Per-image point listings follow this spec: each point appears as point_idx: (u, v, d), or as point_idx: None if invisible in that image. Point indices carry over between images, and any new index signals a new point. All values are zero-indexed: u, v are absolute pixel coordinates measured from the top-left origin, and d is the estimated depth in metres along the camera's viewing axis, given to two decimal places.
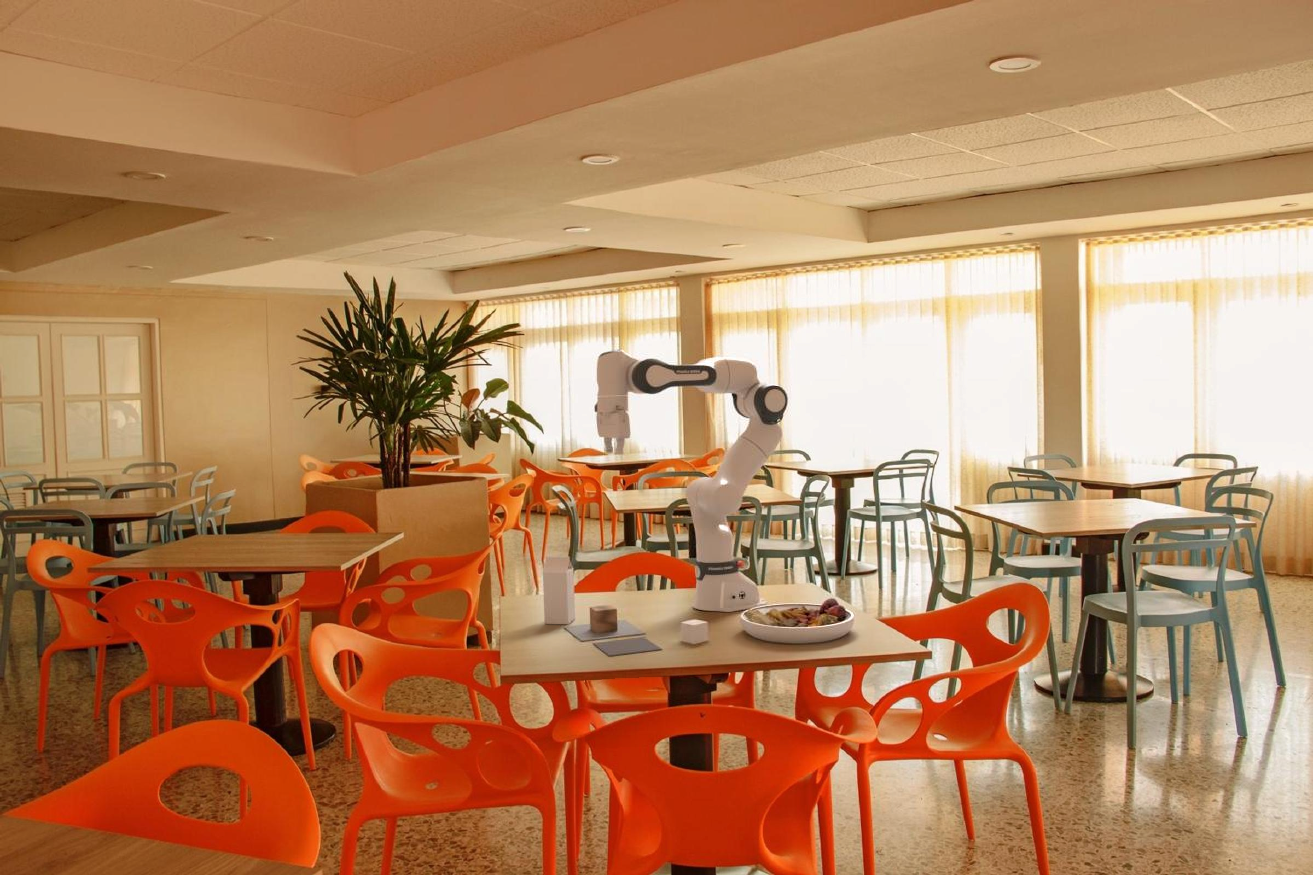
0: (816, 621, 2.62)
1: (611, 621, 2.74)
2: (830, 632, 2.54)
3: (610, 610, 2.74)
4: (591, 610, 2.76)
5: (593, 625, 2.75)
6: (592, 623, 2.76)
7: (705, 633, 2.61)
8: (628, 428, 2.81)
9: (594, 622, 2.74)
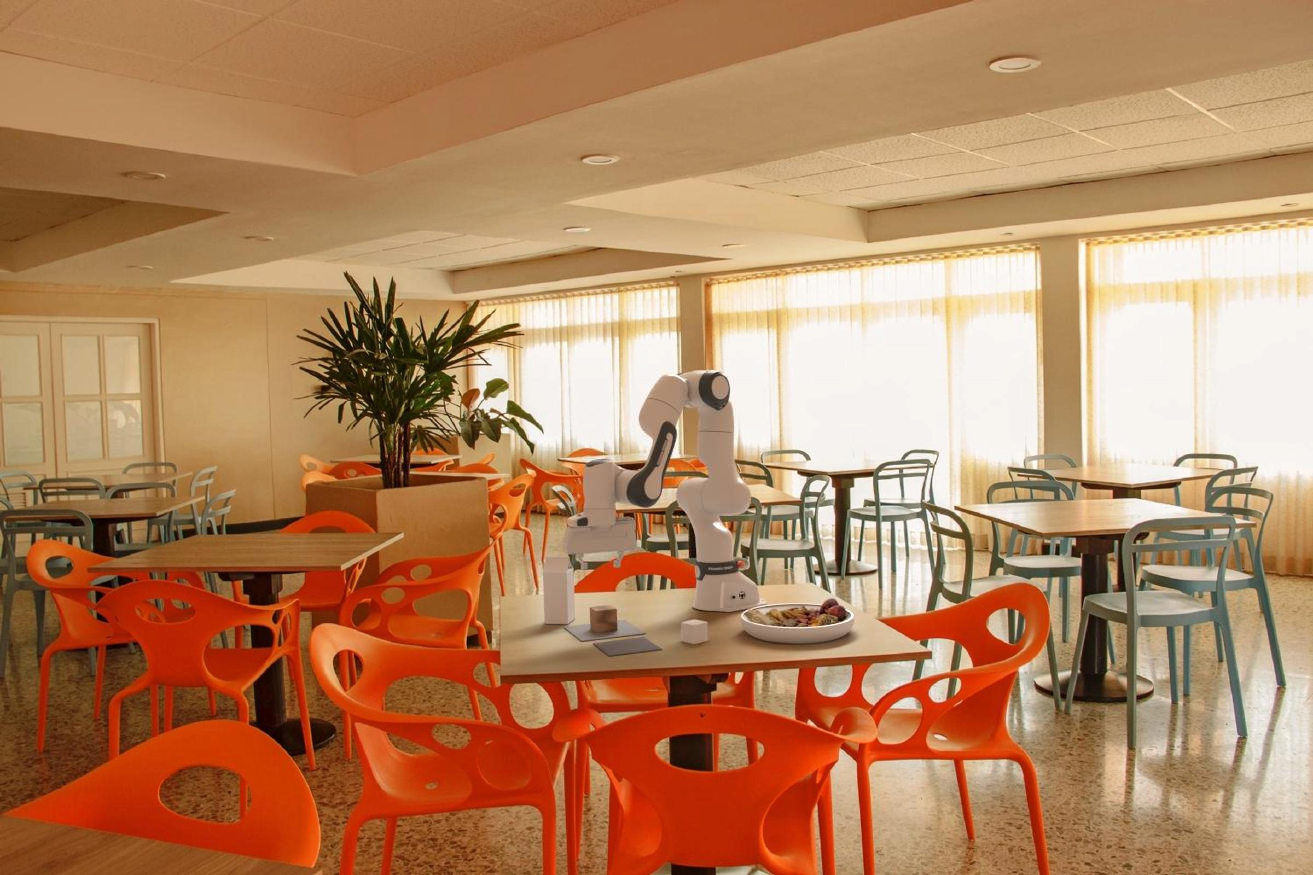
0: (816, 621, 2.62)
1: (611, 621, 2.74)
2: (830, 632, 2.54)
3: (610, 610, 2.74)
4: (591, 610, 2.76)
5: (593, 625, 2.75)
6: (592, 623, 2.76)
7: (705, 633, 2.61)
8: None
9: (594, 622, 2.74)
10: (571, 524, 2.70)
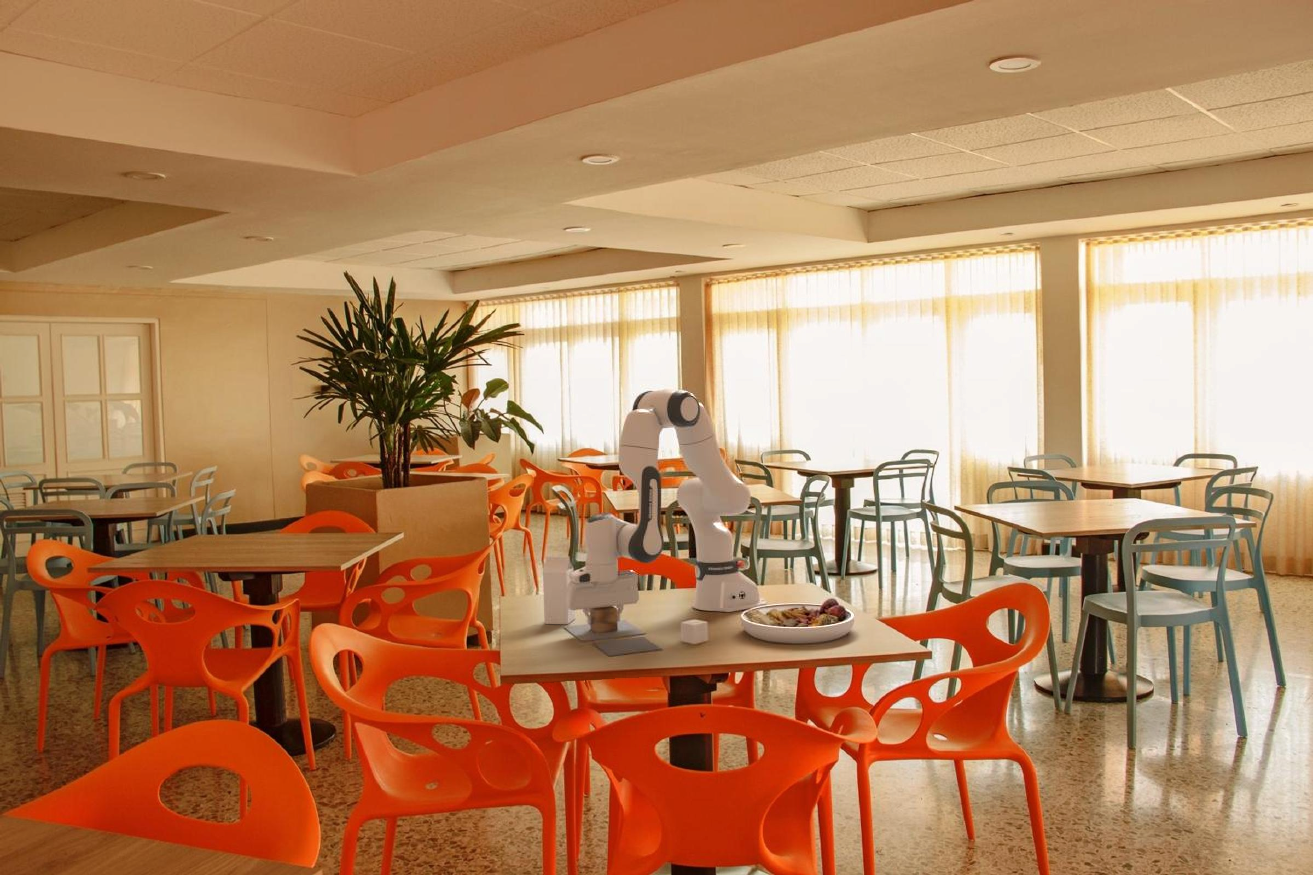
0: (816, 621, 2.62)
1: (611, 621, 2.74)
2: (831, 632, 2.54)
3: (610, 610, 2.74)
4: (591, 610, 2.76)
5: (593, 625, 2.75)
6: None
7: (705, 633, 2.61)
8: None
9: (595, 622, 2.74)
10: (573, 580, 2.71)
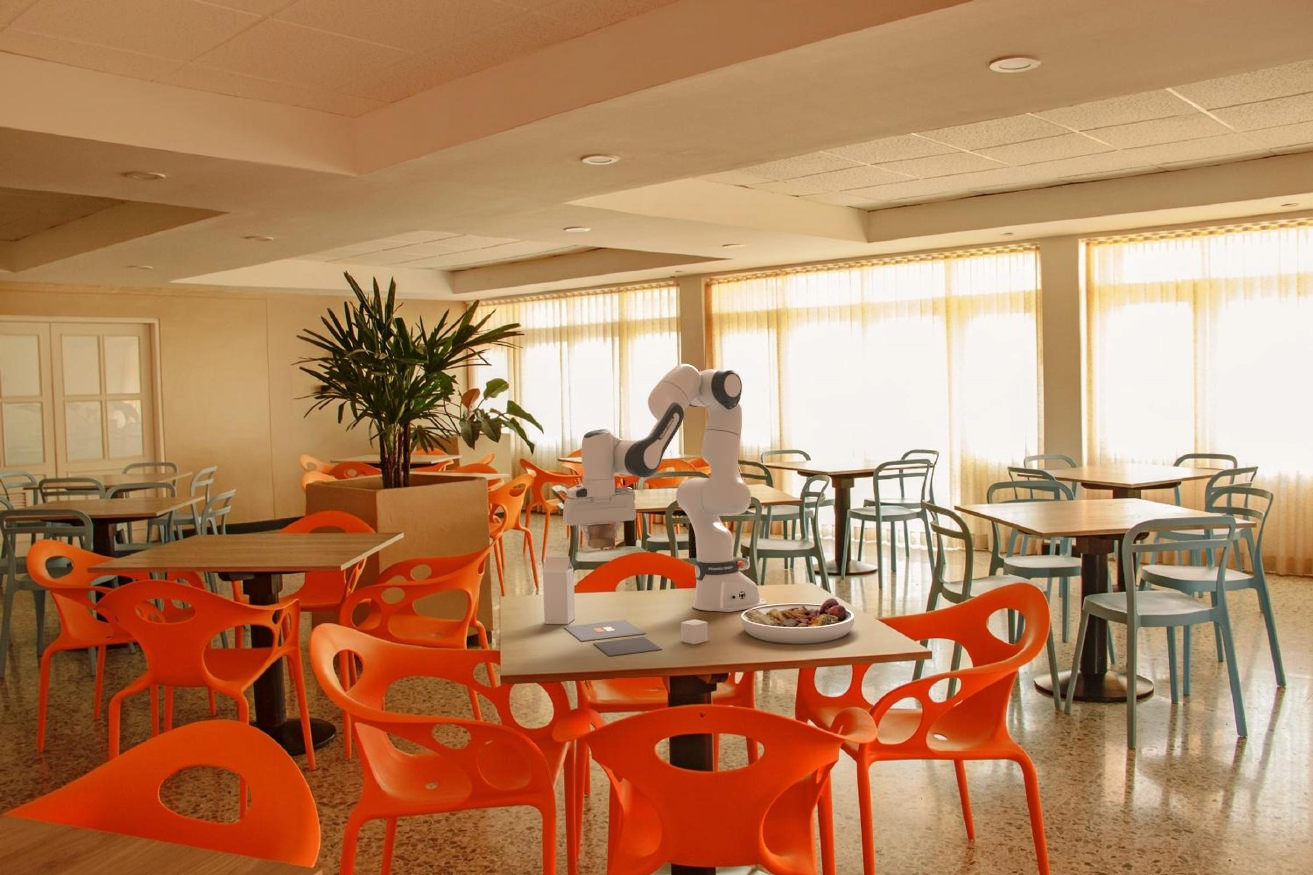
0: (816, 621, 2.62)
1: (609, 537, 2.73)
2: (831, 632, 2.54)
3: (607, 526, 2.73)
4: (588, 527, 2.75)
5: (590, 541, 2.75)
6: (589, 540, 2.75)
7: (705, 633, 2.61)
8: None
9: (592, 538, 2.73)
10: (570, 495, 2.70)
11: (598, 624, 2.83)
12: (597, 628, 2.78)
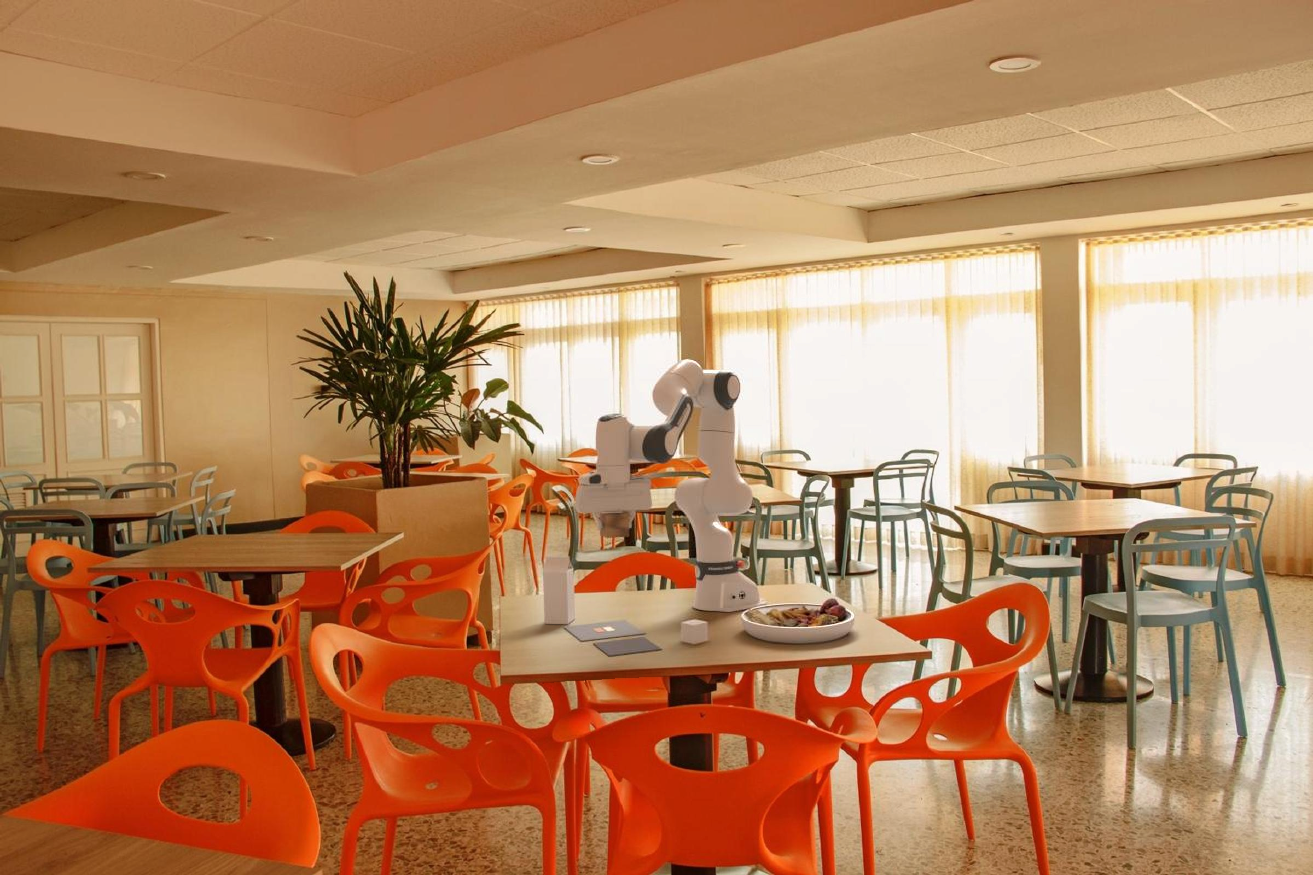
0: (816, 621, 2.62)
1: (623, 527, 2.60)
2: (831, 632, 2.54)
3: (621, 515, 2.59)
4: (601, 515, 2.62)
5: (603, 531, 2.61)
6: None
7: (705, 633, 2.61)
8: None
9: (605, 527, 2.59)
10: (583, 481, 2.57)
11: (598, 624, 2.83)
12: (597, 628, 2.78)
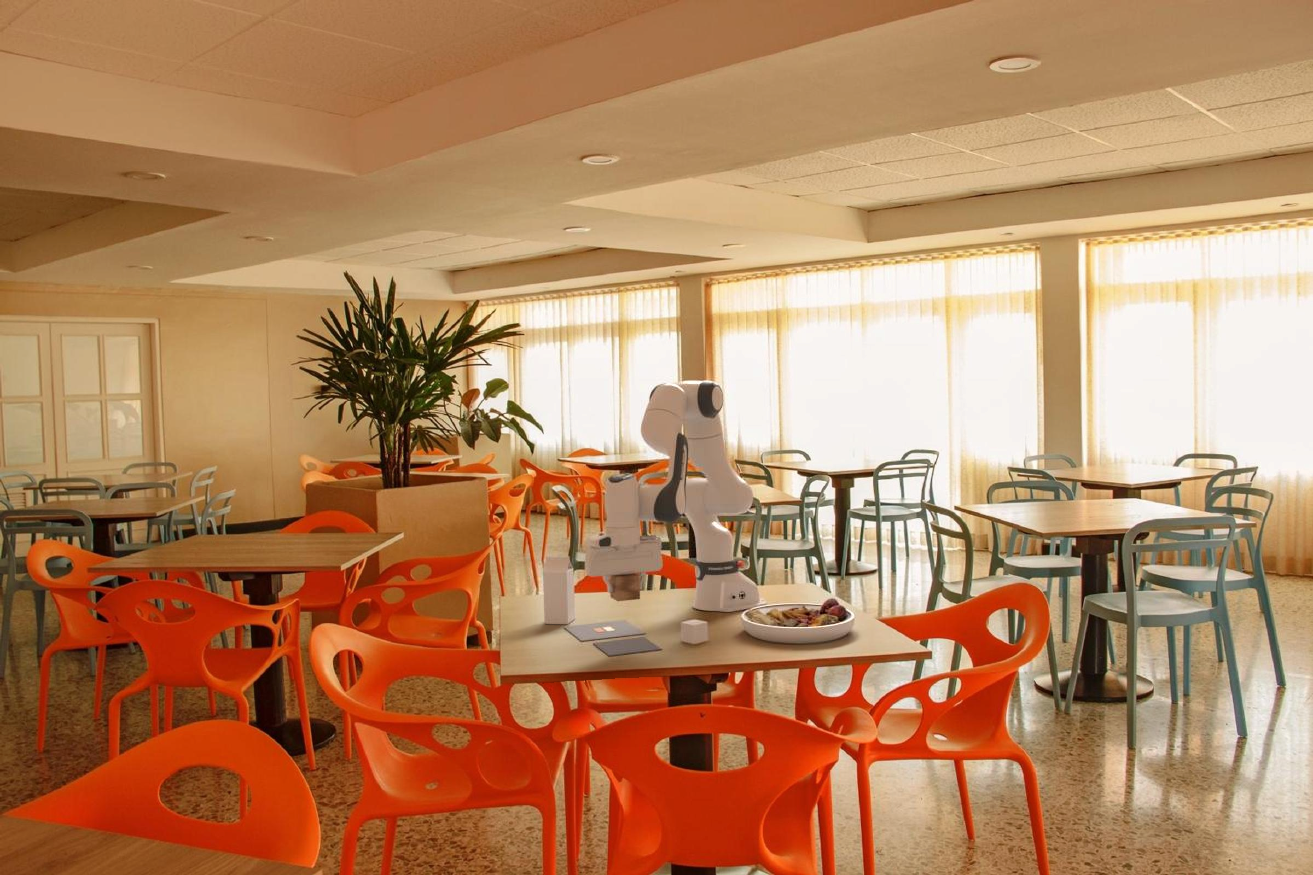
0: (817, 621, 2.62)
1: (633, 589, 2.55)
2: (831, 632, 2.54)
3: (632, 577, 2.54)
4: (611, 577, 2.57)
5: (613, 593, 2.56)
6: None
7: (705, 633, 2.61)
8: None
9: (615, 590, 2.54)
10: (593, 544, 2.52)
11: (598, 624, 2.83)
12: (597, 628, 2.78)
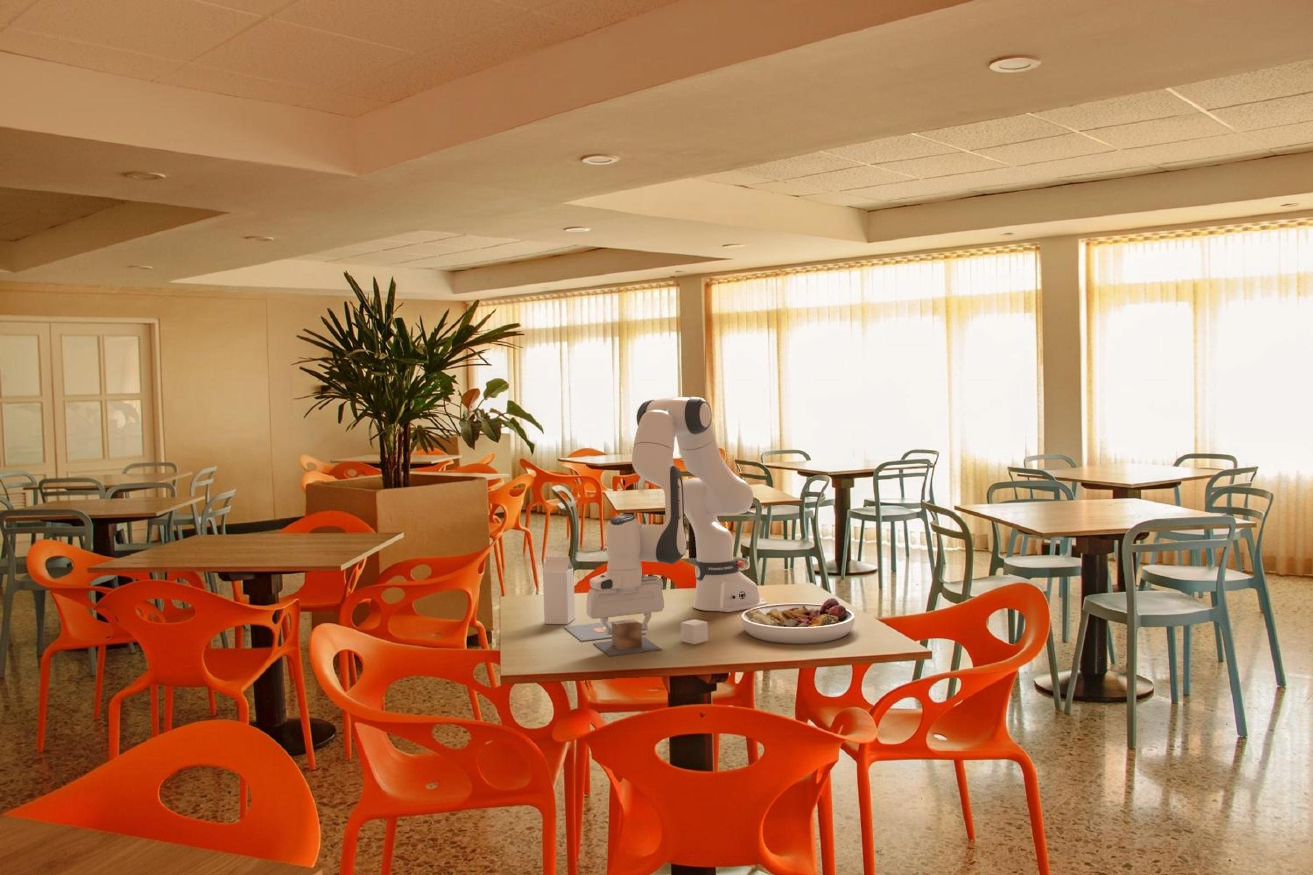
0: (817, 621, 2.62)
1: (635, 637, 2.55)
2: (831, 632, 2.54)
3: (634, 625, 2.55)
4: (613, 625, 2.58)
5: (615, 641, 2.57)
6: (614, 639, 2.57)
7: (705, 633, 2.61)
8: None
9: (617, 638, 2.55)
10: (594, 587, 2.52)
11: (598, 624, 2.83)
12: (597, 628, 2.78)
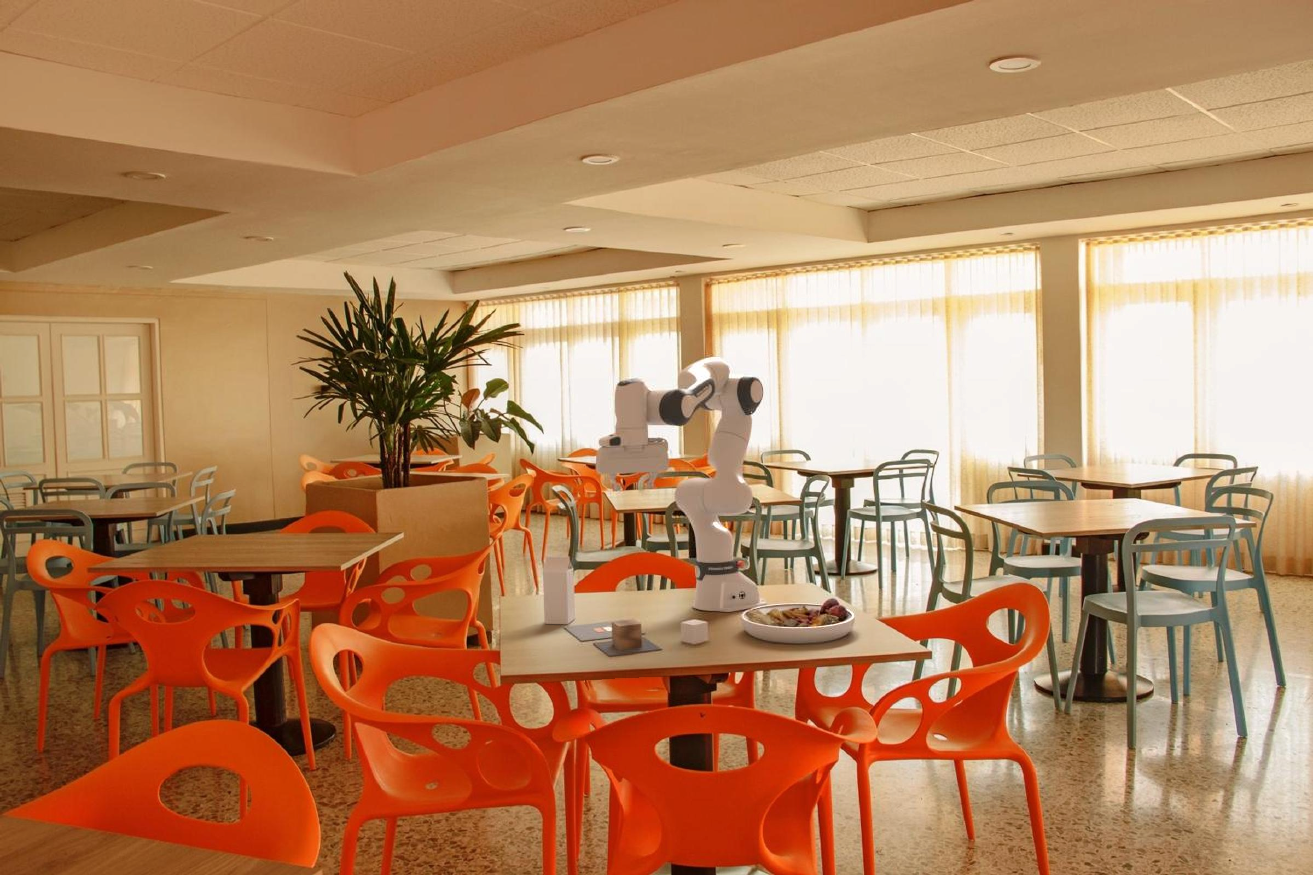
0: (817, 621, 2.62)
1: (635, 637, 2.55)
2: (831, 632, 2.54)
3: (634, 625, 2.55)
4: (613, 625, 2.58)
5: (615, 641, 2.57)
6: (614, 639, 2.57)
7: (705, 633, 2.61)
8: None
9: (617, 638, 2.55)
10: (603, 444, 2.66)
11: (598, 624, 2.83)
12: (597, 628, 2.78)
